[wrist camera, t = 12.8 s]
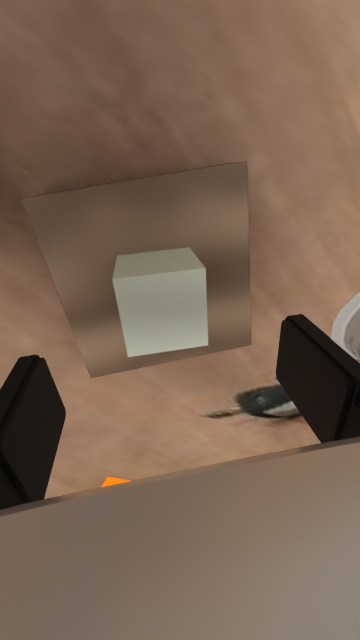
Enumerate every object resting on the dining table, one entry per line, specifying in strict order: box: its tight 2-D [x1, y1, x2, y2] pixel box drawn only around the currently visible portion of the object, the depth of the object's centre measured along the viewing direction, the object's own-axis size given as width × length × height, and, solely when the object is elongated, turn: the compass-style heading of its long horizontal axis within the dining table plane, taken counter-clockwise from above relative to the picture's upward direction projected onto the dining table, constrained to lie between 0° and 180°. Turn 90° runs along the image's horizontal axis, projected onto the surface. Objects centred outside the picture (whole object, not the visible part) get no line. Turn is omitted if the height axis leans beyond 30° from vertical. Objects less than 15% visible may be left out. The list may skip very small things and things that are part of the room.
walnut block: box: [21, 161, 251, 378], centre depth 22 cm, size 14×14×5 cm
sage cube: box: [112, 247, 208, 357], centre depth 18 cm, size 5×5×5 cm
